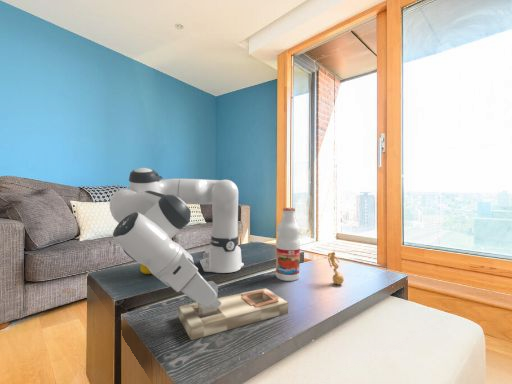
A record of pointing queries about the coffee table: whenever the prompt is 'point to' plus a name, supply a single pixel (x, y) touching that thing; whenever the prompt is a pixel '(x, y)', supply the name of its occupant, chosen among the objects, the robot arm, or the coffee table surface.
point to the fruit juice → (288, 247)
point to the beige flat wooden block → (233, 312)
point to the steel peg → (211, 309)
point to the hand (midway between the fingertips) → (211, 297)
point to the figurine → (336, 277)
